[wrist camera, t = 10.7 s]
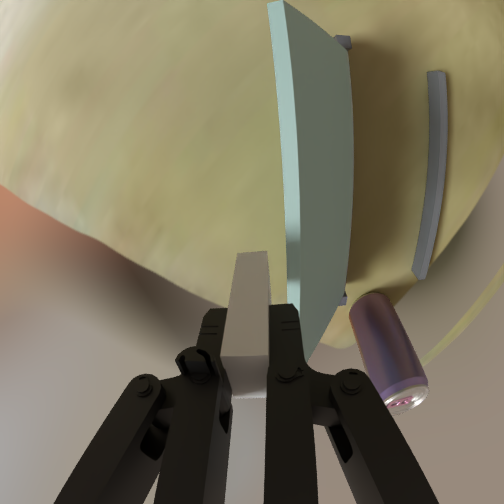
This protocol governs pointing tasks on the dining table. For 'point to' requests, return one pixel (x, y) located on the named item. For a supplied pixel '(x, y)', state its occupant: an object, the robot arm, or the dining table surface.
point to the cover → (314, 164)
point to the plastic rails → (435, 167)
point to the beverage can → (388, 353)
